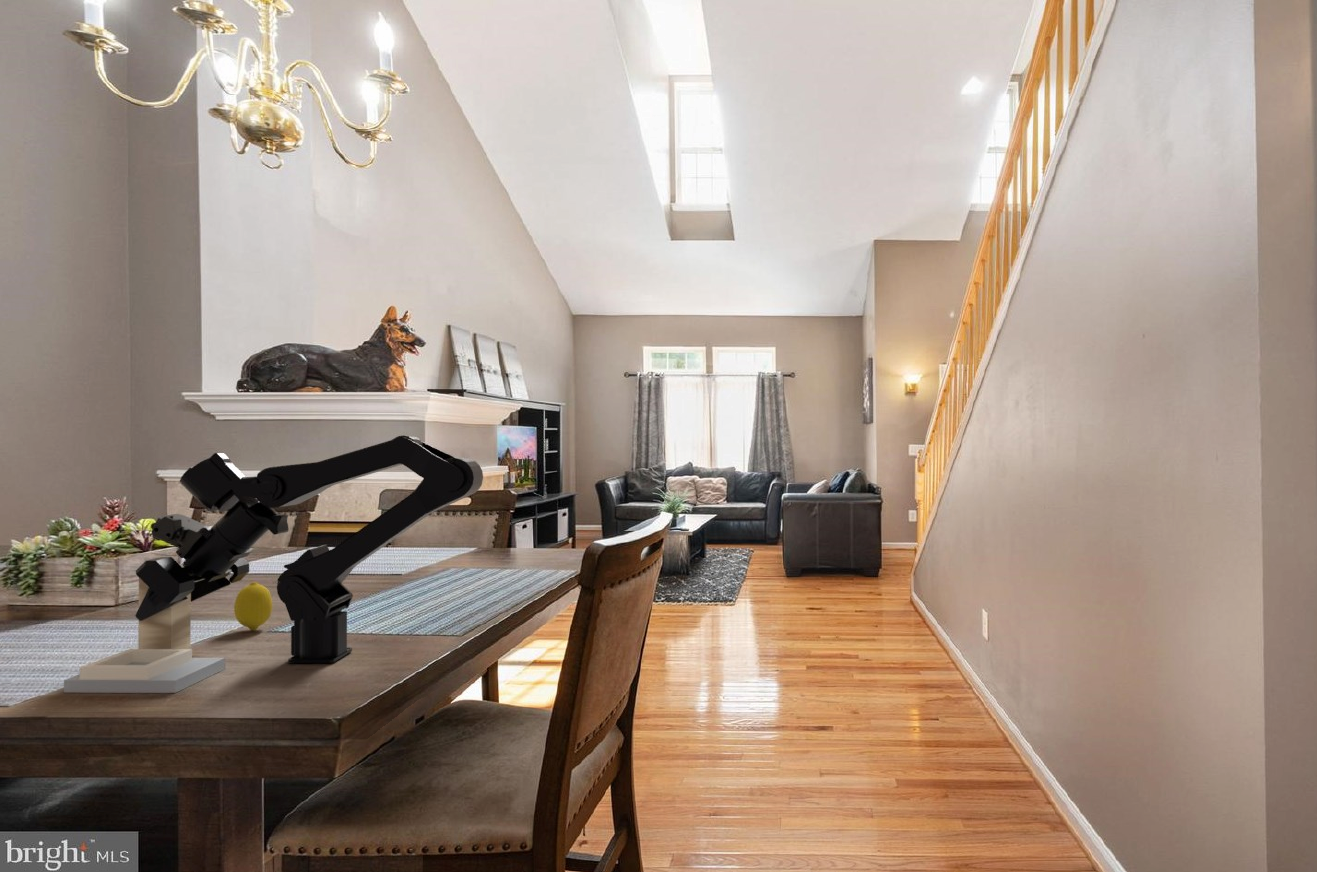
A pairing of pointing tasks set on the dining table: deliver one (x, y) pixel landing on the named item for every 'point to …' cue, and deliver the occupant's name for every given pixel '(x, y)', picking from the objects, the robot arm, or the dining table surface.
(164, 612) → the beech pillar
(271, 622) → the dining table surface
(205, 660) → the foundation plate
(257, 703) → the dining table surface
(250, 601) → the lemon
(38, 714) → the dining table surface
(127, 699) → the dining table surface
